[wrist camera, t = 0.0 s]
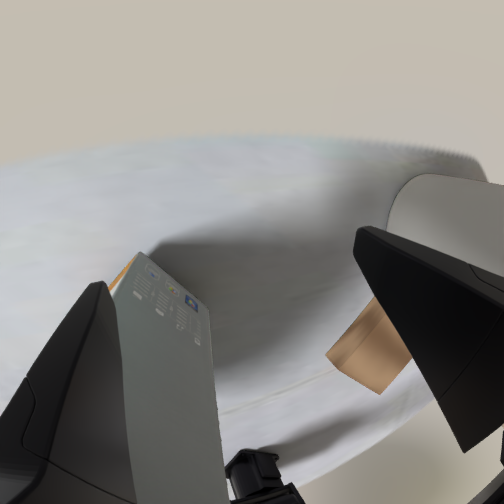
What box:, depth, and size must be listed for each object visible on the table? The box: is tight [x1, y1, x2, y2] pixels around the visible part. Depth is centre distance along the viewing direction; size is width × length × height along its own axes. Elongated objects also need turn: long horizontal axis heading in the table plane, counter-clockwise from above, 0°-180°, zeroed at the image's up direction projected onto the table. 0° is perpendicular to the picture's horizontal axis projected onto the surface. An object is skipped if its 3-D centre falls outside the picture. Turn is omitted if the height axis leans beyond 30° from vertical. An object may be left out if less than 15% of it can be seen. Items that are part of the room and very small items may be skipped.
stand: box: [325, 296, 412, 395], centre depth 33 cm, size 10×10×3 cm
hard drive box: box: [108, 252, 230, 504], centre depth 15 cm, size 16×8×20 cm, turn 134°
